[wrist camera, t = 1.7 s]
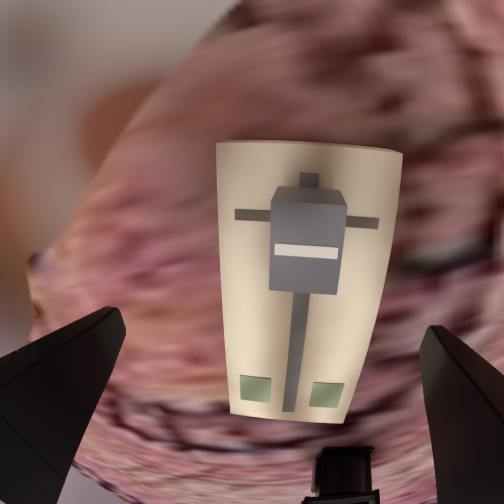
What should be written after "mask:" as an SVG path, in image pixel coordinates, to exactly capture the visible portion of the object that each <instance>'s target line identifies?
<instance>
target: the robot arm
mask: <svg viewBox="0 0 504 504" xmlns="http://www.w3.org/2000/svg"><path fill="white" fill-rule="evenodd" d="M125 336H126V327H125V324H124V321H123V318H122V315H121V312H120V310H119V309H118V308H116V307H111V306H106V307H103V308H101V309H99V310H97V311H95V312H93V313H91V314H89V315H87V316H85V317H83V318H81V319H78V320H76V321H74V322H72V323H70V324H68V325H66V326H64V327H62V328H60V329H58V330H56V331H54V332H52V333H50V334H48V335H46V336H44V337H42V338H40V339H38V340H36V341H34V342H32V343H30V344H27V345H25V346H24V347H21V348H20V349H18V350H15V351H14V352H11V353H9V354H7V355H5V356H3V357H1V358H0V504H57V502H58V499H59V496H60V493H61V490H62V488H63V485H64V483H65V479H66V477H67V474H68V472H69V469H70V467H71V464H72V462H73V459H74V457H75V454H76V452H77V450H78V447H79V445H80V442H81V440H82V438H83V435H84V433H85V431H86V428H87V426H88V424H89V422H90V419H91V417H92V415H93V413H94V410H95V408H96V406H97V404H98V402H99V399H100V397H101V395H102V393H103V391H104V389H105V387H106V385H107V382H108V380H109V378H110V376H111V373H112V371H113V368H114V366H115V363H116V360H117V357H118V355H119V352H120V349H121V346H122V344H123V341H124V339H125ZM419 357H420V365H421V374H422V383H423V394H424V402H425V408H426V414H427V419H428V425H429V431H430V437H431V444H432V451H433V459H434V468H435V477H436V488H437V503H438V504H504V375H503V374H502V373H501V372H499V371H498V370H497V369H496V368H495V367H493V366H492V365H491V364H490V363H489V362H487V361H486V360H485V359H484V358H483V357H481V356H480V355H479V354H478V353H476V352H475V351H474V350H473V349H471V348H470V347H469V346H468V345H467V344H465V343H464V342H463V341H462V340H460V339H459V338H458V337H456V336H455V335H454V334H453V333H451V332H450V331H449V330H448V329H446V328H445V327H444V326H442V325H430V326H429V327H428V328H427V330H426V332H425V335H424V338H423V341H422V343H421V346H420V350H419ZM374 452H375V449H374V448H323V449H322V451H321V454H320V457H319V458H317V459H316V460H315V463H314V465H313V474H312V485H311V492H312V493H315V497H310V496H308V497H305V498H304V501H302V502H301V504H380V495H379V489H377V490H374V491H372V477H371V457H372V455H373V454H374Z"/></svg>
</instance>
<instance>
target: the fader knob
mask: <svg viewBox="0 0 504 504" xmlns="http://www.w3.org/2000/svg"><path fill="white" fill-rule="evenodd" d="M346 217H347V204H346V201H345V199H344V197H343V195H342V193H341V191H340V190H335V189H321V188H306V187H288V186H278V187H277V189H276V191H275V193H274V195H273V197H272V199H271V218H270V264H269V290H273V291H285V292H298V293H312V294H326V295H337V290H338V283H339V276H340V268H341V261H342V253H343V245H344V236H345V226H346Z"/></svg>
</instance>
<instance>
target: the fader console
mask: <svg viewBox="0 0 504 504" xmlns="http://www.w3.org/2000/svg"><path fill="white" fill-rule="evenodd" d="M402 159H403V154H402V153H399V152H396V151H393V150H390V149H384V148H376V147H367V146H358V145H347V144H335V143H322V142H305V141H281V140H227V141H223V142H218V143H216V169H217V202H218V228H219V250H220V271H221V289H222V306H223V322H224V336H225V350H226V364H227V376H228V389H229V400H230V412H231V413H232V414H239V415H246V416H253V417H261V418H269V419H279V420H289V421H302V422H319V423H343V422H344V419H345V416H346V414H347V411H348V408H349V405H350V403H351V400H352V397H353V394H354V391H355V388H356V385H357V382H358V379H359V376H360V373H361V370H362V367H363V363H364V360H365V357H366V353H367V350H368V347H369V343H370V339H371V336H372V332H373V328H374V325H375V321H376V317H377V313H378V309H379V304H380V300H381V296H382V291H383V287H384V282H385V277H386V273H387V268H388V262H389V257H390V252H391V246H392V240H393V234H394V228H395V221H396V214H397V207H398V199H399V190H400V181H401V170H402ZM278 186H288V187H306V188H321V189H335V190H340V191H341V193H342V195H343V197H344V199H345V201H346V204H347V217H346V226H345V236H344V245H343V253H342V261H341V268H340V276H339V283H338V290H337V295H326V294H312V293H298V292H285V291H273V290H269V264H270V218H271V199H272V197H273V195H274V193H275V191H276V189H277V187H278Z"/></svg>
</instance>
